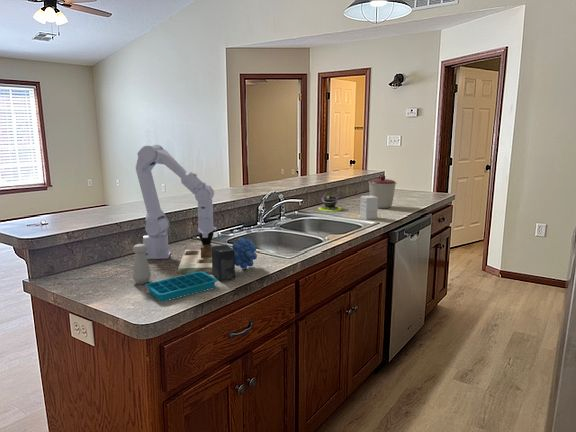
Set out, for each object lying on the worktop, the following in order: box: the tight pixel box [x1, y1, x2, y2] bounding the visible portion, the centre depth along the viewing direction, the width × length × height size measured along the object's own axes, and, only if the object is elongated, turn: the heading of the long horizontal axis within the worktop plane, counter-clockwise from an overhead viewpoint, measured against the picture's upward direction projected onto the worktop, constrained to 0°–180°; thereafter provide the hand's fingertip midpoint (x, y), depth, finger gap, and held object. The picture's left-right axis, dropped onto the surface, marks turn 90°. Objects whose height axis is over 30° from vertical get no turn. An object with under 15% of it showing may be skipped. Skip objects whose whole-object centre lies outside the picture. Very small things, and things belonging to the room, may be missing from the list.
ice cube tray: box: [144, 271, 218, 302], centre depth 135 cm, size 12×20×3 cm, turn 129°
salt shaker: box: [131, 243, 152, 285], centre depth 140 cm, size 6×6×13 cm
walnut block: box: [200, 244, 213, 258], centre depth 164 cm, size 4×4×4 cm
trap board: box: [177, 249, 212, 275], centre depth 162 cm, size 12×23×2 cm, turn 7°
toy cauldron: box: [317, 193, 342, 212], centre depth 270 cm, size 15×15×11 cm
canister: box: [367, 174, 398, 209], centre depth 275 cm, size 18×18×21 cm
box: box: [211, 244, 236, 282], centre depth 146 cm, size 8×6×11 cm
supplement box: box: [359, 194, 378, 221], centre depth 242 cm, size 7×7×13 cm
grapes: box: [231, 237, 258, 270], centre depth 154 cm, size 12×7×12 cm, turn 134°
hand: (206, 250), depth 167 cm, fingers closed
